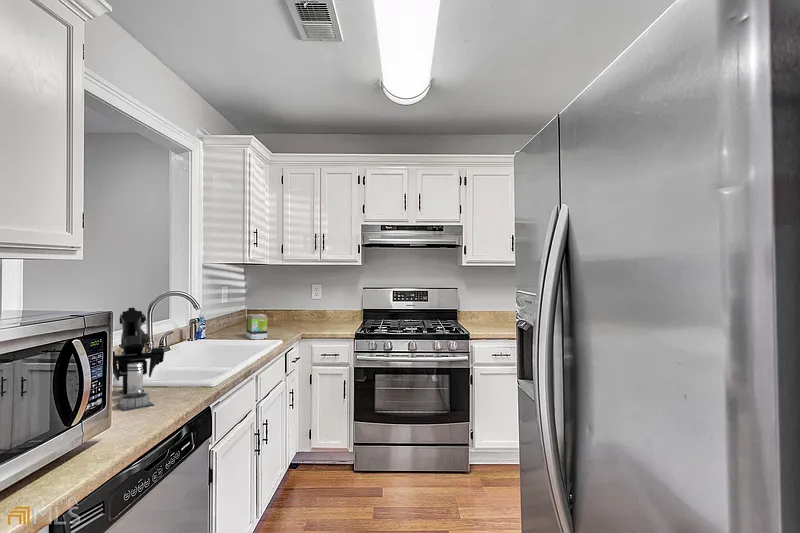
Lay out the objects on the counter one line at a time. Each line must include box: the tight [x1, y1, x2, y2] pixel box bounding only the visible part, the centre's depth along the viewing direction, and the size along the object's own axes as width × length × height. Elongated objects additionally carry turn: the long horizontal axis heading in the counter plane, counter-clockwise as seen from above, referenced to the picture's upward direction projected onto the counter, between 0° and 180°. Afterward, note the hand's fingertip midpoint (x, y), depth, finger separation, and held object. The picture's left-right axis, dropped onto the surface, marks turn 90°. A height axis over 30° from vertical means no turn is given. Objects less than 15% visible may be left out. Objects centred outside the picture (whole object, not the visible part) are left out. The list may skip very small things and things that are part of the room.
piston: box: [127, 362, 144, 399], centre depth 156 cm, size 5×5×13 cm
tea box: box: [245, 313, 268, 340], centre depth 304 cm, size 15×10×15 cm, turn 30°
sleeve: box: [116, 392, 155, 412], centre depth 156 cm, size 9×9×3 cm
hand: (134, 378), depth 159 cm, fingers open, 9 cm apart
